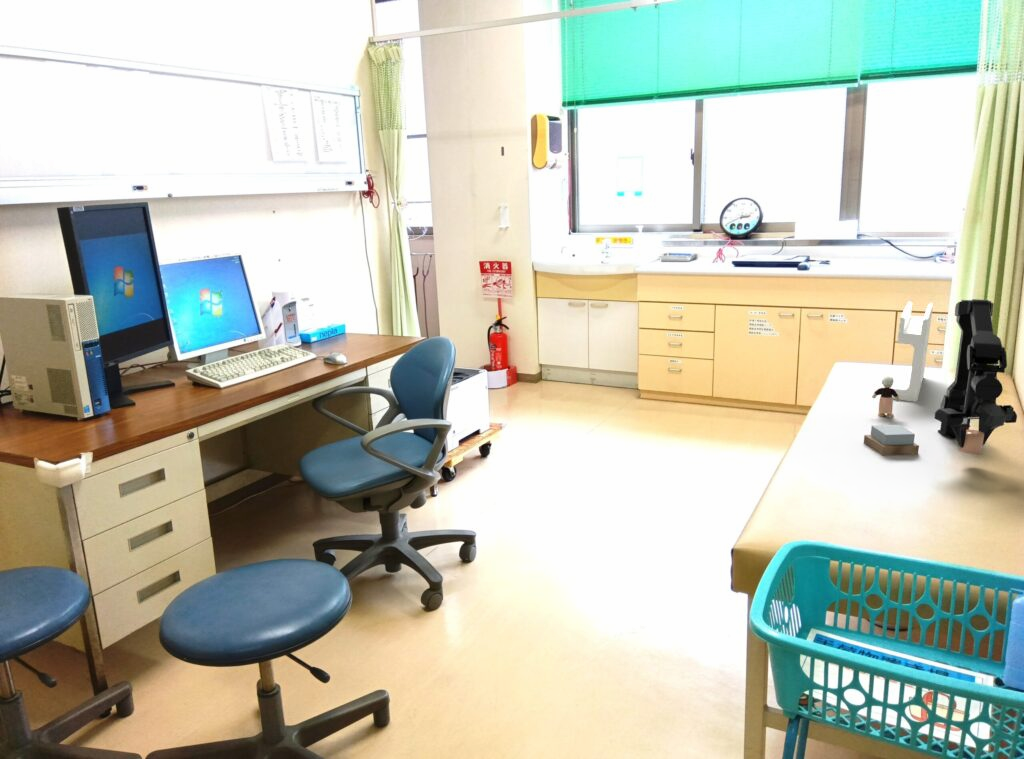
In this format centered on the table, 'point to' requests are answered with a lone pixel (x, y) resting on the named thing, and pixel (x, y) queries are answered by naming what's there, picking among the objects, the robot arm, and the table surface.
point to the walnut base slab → (890, 447)
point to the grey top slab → (892, 435)
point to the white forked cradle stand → (916, 335)
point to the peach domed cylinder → (973, 442)
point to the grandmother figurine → (886, 397)
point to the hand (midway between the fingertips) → (970, 446)
